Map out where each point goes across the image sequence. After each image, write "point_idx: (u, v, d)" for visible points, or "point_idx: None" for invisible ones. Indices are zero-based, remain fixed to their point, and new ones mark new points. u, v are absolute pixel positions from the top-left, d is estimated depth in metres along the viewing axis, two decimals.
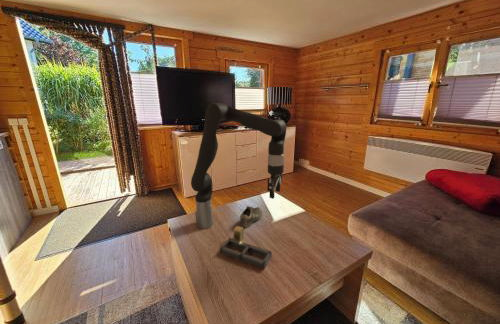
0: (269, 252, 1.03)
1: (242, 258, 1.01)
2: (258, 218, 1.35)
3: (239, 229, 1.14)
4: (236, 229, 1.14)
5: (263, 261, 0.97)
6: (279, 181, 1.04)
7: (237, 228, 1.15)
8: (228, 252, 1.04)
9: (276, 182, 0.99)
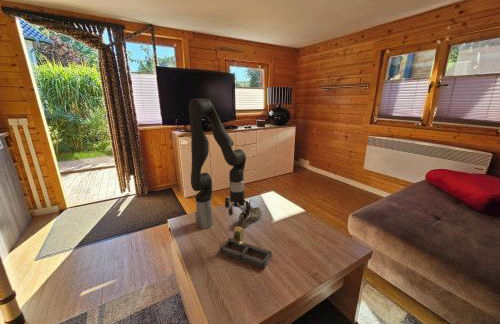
0: (269, 252, 1.03)
1: (242, 258, 1.01)
2: (257, 218, 1.35)
3: (239, 229, 1.14)
4: (236, 229, 1.14)
5: (263, 261, 0.97)
6: None
7: (237, 228, 1.15)
8: (228, 252, 1.04)
9: None
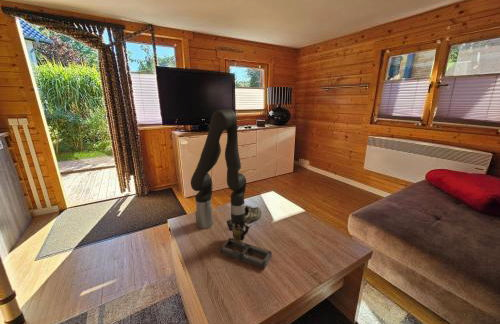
0: (269, 252, 1.03)
1: (242, 258, 1.01)
2: (256, 218, 1.35)
3: None
4: (236, 229, 1.14)
5: (263, 261, 0.97)
6: None
7: (237, 228, 1.15)
8: (228, 252, 1.04)
9: (243, 225, 1.15)
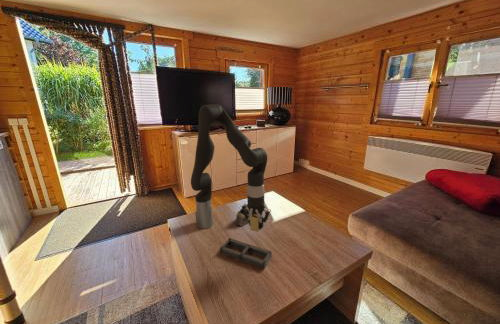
0: (269, 252, 1.03)
1: (242, 258, 1.01)
2: None
3: None
4: (253, 216, 0.96)
5: (263, 261, 0.97)
6: None
7: (254, 215, 0.96)
8: (228, 252, 1.04)
9: None
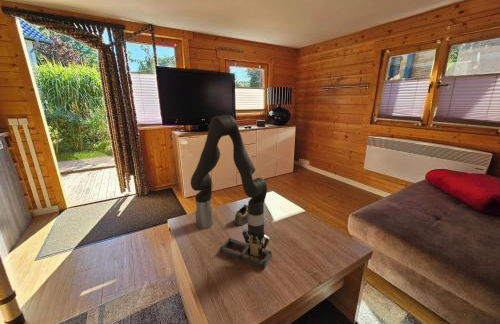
0: (269, 252, 1.03)
1: (242, 258, 1.01)
2: None
3: None
4: (253, 241, 0.99)
5: (263, 261, 0.97)
6: None
7: (254, 240, 1.00)
8: (228, 252, 1.04)
9: None
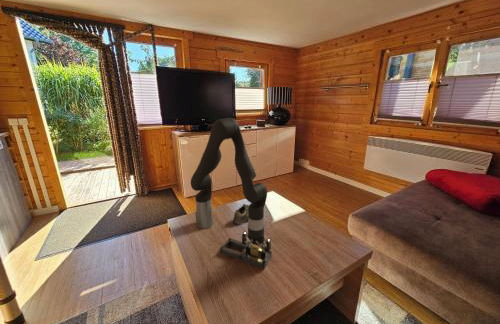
0: (269, 252, 1.03)
1: (242, 258, 1.01)
2: None
3: (257, 247, 1.00)
4: (253, 247, 1.00)
5: (263, 261, 0.97)
6: None
7: (254, 246, 1.01)
8: (228, 252, 1.04)
9: None
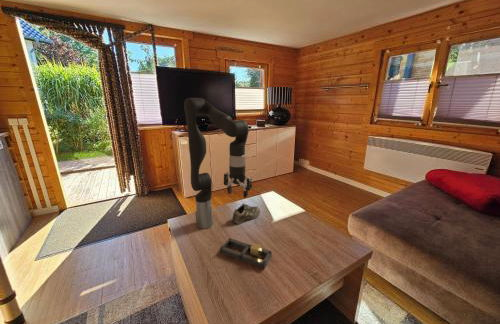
0: (269, 252, 1.03)
1: (242, 258, 1.01)
2: (253, 217, 1.36)
3: (257, 247, 1.00)
4: (253, 247, 1.00)
5: (263, 261, 0.97)
6: None
7: (254, 246, 1.01)
8: (228, 252, 1.04)
9: (244, 180, 1.02)
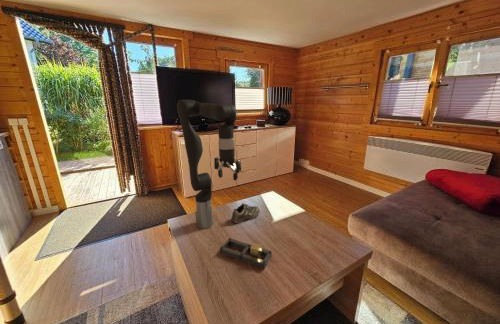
0: (269, 252, 1.03)
1: (242, 258, 1.01)
2: (252, 217, 1.37)
3: (257, 247, 1.00)
4: (253, 247, 1.00)
5: (263, 261, 0.97)
6: None
7: (254, 246, 1.01)
8: (228, 252, 1.04)
9: None
